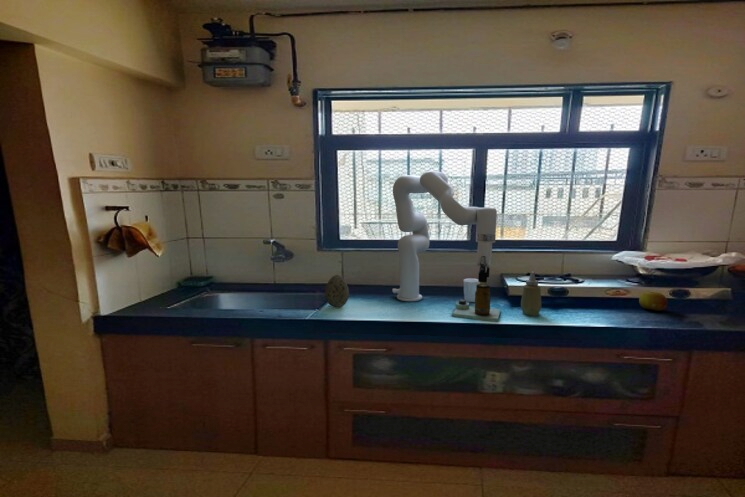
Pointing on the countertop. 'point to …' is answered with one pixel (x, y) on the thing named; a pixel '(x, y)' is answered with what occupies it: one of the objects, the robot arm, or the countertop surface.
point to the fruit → (653, 301)
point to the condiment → (482, 301)
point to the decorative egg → (337, 292)
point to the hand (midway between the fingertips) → (483, 279)
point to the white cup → (470, 289)
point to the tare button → (462, 302)
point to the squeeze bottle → (531, 297)
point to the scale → (466, 313)
